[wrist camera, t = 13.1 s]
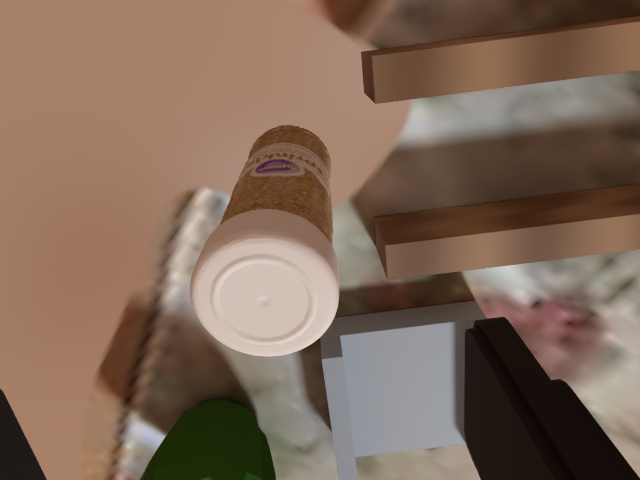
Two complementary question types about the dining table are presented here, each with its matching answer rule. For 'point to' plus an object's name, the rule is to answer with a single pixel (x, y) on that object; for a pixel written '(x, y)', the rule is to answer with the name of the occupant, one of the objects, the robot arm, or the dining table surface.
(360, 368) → the cradle
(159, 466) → the bell pepper
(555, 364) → the dining table surface
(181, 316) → the dining table surface
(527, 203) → the channel
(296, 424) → the dining table surface
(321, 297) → the sprinkles bottle
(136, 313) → the dining table surface
